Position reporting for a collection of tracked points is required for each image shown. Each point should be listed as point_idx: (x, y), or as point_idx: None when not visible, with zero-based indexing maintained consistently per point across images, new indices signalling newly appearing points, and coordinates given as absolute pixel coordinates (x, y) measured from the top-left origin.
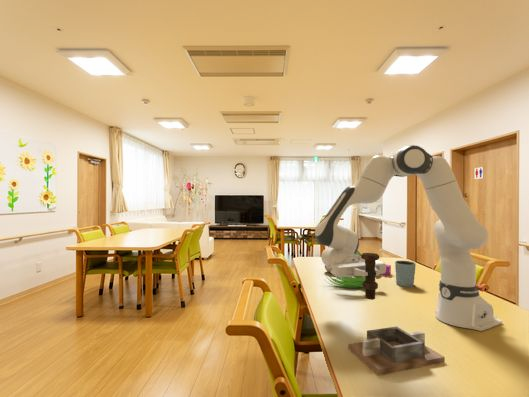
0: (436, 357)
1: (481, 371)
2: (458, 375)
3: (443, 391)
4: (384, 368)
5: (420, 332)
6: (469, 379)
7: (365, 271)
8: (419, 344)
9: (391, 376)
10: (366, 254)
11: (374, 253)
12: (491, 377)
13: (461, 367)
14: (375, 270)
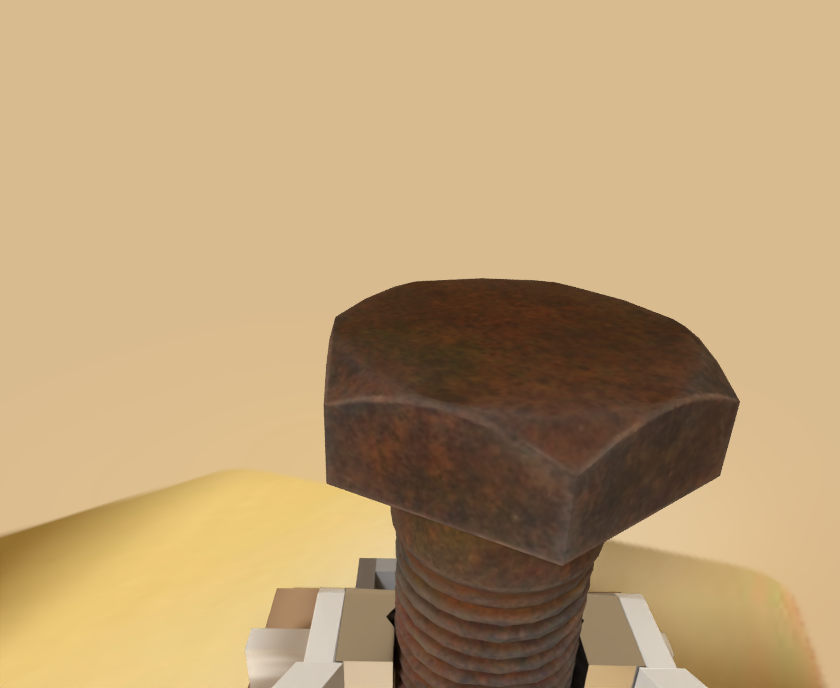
0: (314, 594)
1: (220, 538)
2: (321, 543)
3: None
4: (592, 592)
5: (268, 639)
6: (311, 523)
7: (602, 596)
8: (391, 561)
9: None
10: (619, 329)
11: (352, 340)
12: (233, 514)
13: (256, 568)
14: (389, 593)
